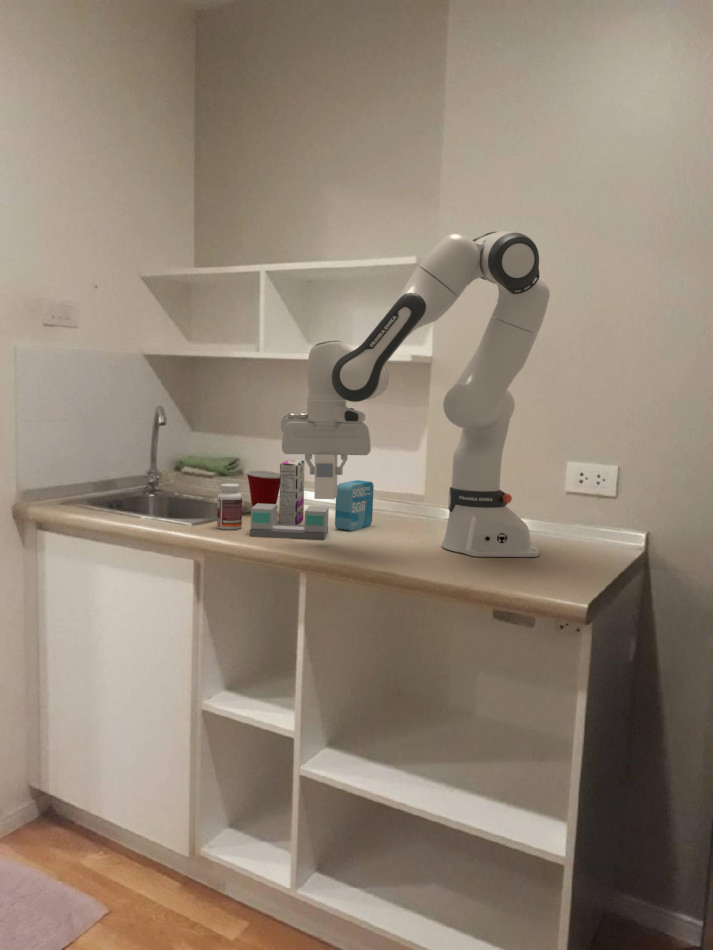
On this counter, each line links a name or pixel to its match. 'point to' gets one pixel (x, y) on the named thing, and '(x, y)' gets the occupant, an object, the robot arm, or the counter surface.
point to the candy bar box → (291, 492)
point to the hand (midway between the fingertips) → (326, 474)
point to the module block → (325, 476)
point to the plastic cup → (263, 486)
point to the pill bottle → (229, 507)
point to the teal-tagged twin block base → (268, 527)
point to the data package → (354, 505)
